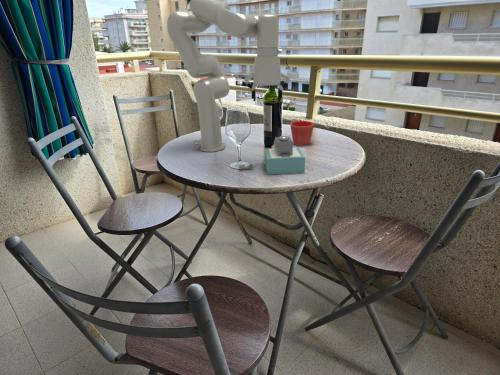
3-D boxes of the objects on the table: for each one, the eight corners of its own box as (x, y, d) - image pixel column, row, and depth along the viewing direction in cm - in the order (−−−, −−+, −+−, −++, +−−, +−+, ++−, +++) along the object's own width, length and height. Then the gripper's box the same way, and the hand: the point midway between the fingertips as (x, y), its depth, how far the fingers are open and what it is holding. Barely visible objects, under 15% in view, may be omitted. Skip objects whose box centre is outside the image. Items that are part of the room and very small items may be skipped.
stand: (267, 174, 118) (267, 158, 115) (264, 163, 129) (264, 148, 126) (304, 172, 118) (305, 156, 116) (298, 161, 129) (299, 146, 127)
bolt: (239, 171, 124) (239, 167, 122) (239, 167, 125) (239, 163, 123) (252, 170, 124) (252, 167, 122) (251, 166, 125) (251, 163, 124)
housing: (274, 148, 126) (274, 133, 124) (288, 147, 126) (288, 132, 124) (278, 157, 116) (278, 141, 114) (293, 156, 116) (293, 140, 114)
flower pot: (313, 146, 146) (314, 126, 142) (289, 146, 148) (289, 126, 144) (312, 140, 156) (313, 120, 152) (290, 140, 158) (290, 120, 154)
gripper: (289, 52, 119) (287, 98, 126) (243, 52, 118) (244, 99, 126) (292, 53, 112) (290, 102, 120) (243, 53, 112) (244, 102, 119)
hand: (266, 100), depth 123 cm, fingers open, 9 cm apart
